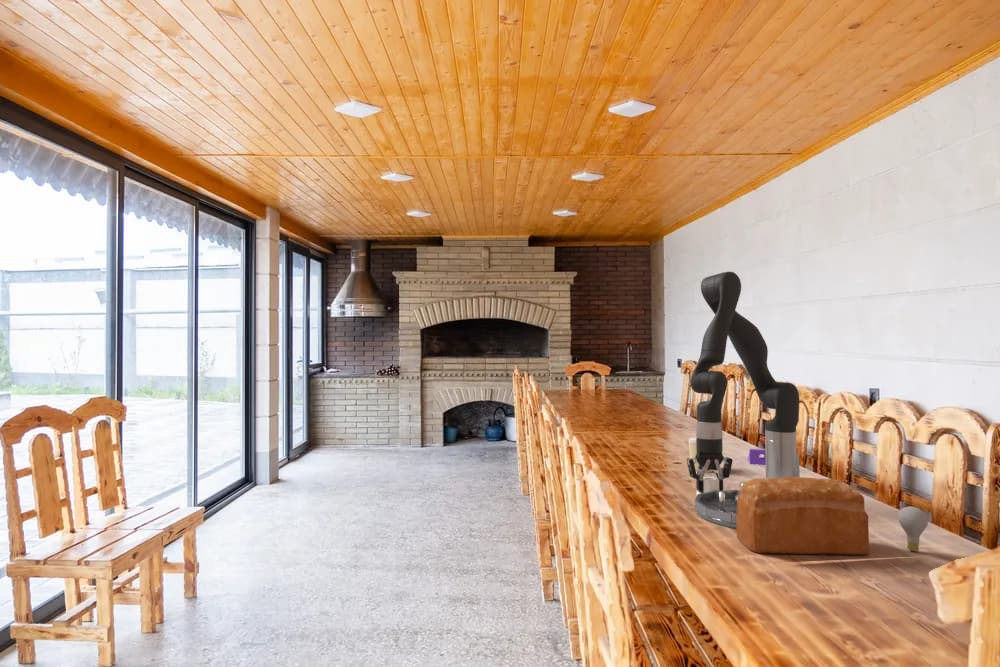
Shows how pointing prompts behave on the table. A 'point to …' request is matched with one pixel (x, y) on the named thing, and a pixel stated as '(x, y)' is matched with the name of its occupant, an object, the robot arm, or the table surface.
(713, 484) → the white faceted ring
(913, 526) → the light bulb
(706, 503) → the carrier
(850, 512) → the bread
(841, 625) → the table surface
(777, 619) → the table surface
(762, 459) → the bracket
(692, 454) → the coffee cup
